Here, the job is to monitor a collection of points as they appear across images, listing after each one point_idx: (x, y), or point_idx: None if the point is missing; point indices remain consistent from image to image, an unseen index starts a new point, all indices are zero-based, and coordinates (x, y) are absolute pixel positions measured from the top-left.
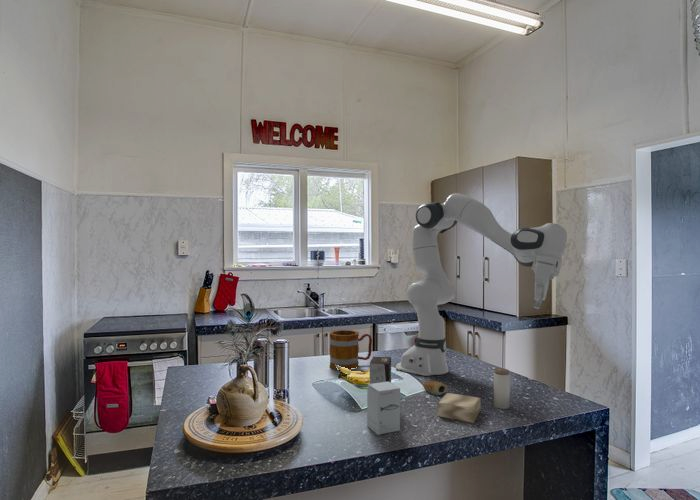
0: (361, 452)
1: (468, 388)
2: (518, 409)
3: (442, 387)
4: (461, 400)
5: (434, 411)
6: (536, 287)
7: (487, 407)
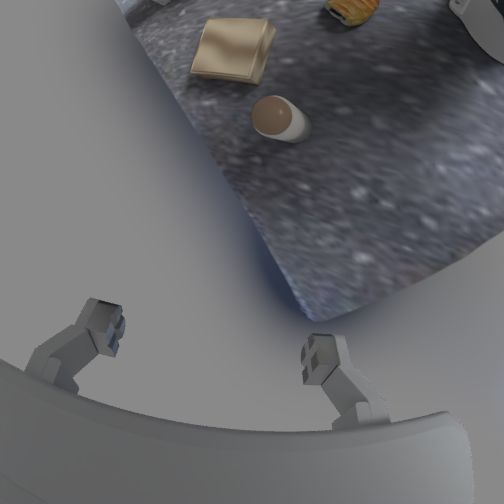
0: (122, 4)
1: (397, 73)
2: (281, 157)
3: (338, 13)
4: (225, 48)
5: None
6: (35, 353)
7: None
